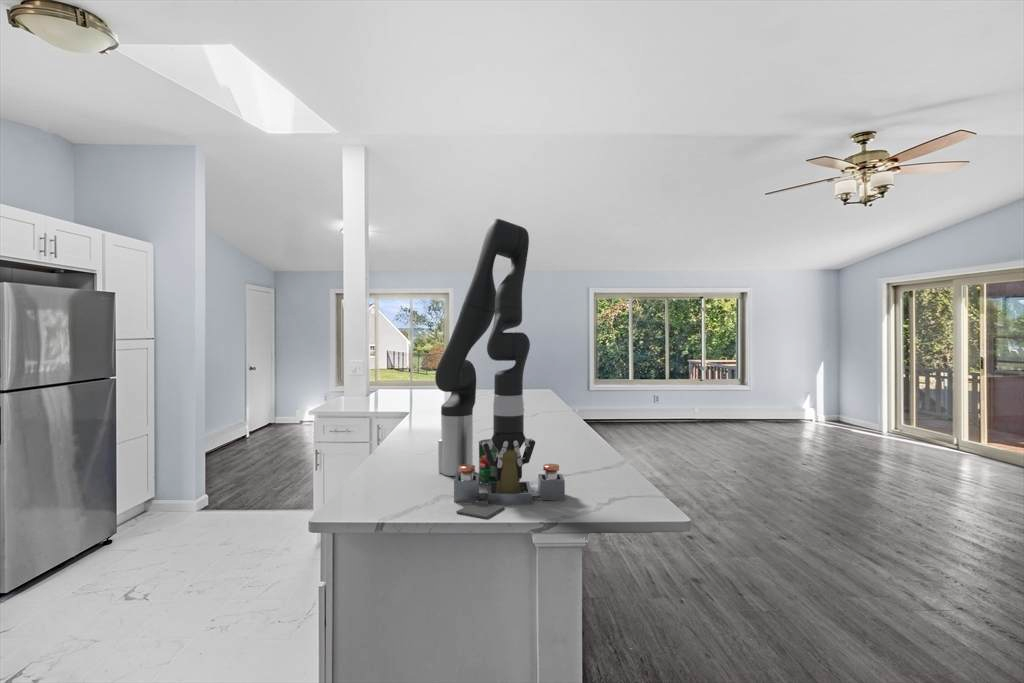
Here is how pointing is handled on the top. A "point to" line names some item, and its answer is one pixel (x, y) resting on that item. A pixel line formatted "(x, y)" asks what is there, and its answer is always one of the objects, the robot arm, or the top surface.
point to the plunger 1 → (466, 472)
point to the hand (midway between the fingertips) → (508, 480)
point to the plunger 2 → (550, 471)
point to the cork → (509, 473)
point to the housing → (546, 491)
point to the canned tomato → (486, 465)
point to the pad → (480, 510)
